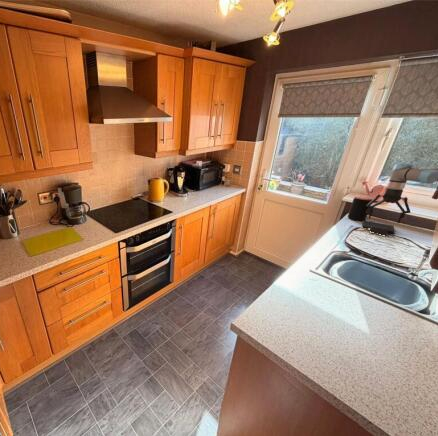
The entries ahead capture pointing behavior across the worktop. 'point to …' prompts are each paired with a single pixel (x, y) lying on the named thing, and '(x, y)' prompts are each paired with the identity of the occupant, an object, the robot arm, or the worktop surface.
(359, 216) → the coffee jar
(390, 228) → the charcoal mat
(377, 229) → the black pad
